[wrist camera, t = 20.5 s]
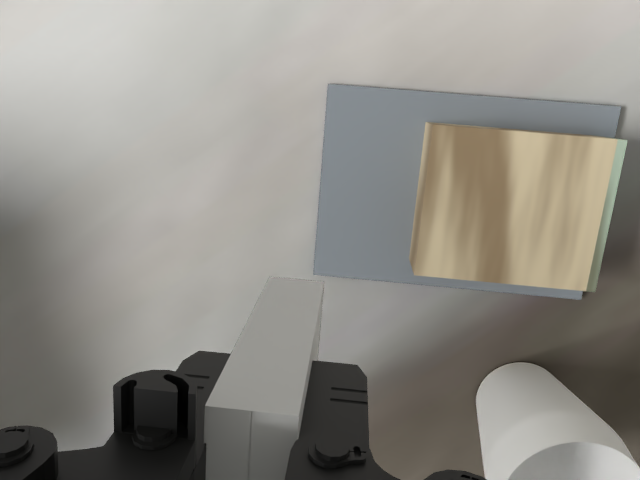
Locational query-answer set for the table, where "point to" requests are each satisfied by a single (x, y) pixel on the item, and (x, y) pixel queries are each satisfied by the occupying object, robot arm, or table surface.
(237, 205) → the table surface
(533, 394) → the white tapered cylinder
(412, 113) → the mat
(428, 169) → the slab
